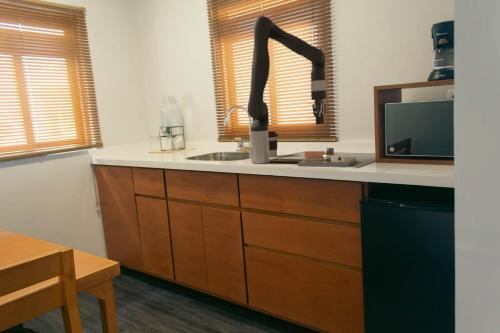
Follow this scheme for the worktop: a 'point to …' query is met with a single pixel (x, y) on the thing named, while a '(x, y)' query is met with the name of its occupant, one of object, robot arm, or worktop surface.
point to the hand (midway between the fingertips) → (319, 123)
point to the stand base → (329, 161)
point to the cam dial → (320, 154)
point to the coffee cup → (272, 143)
